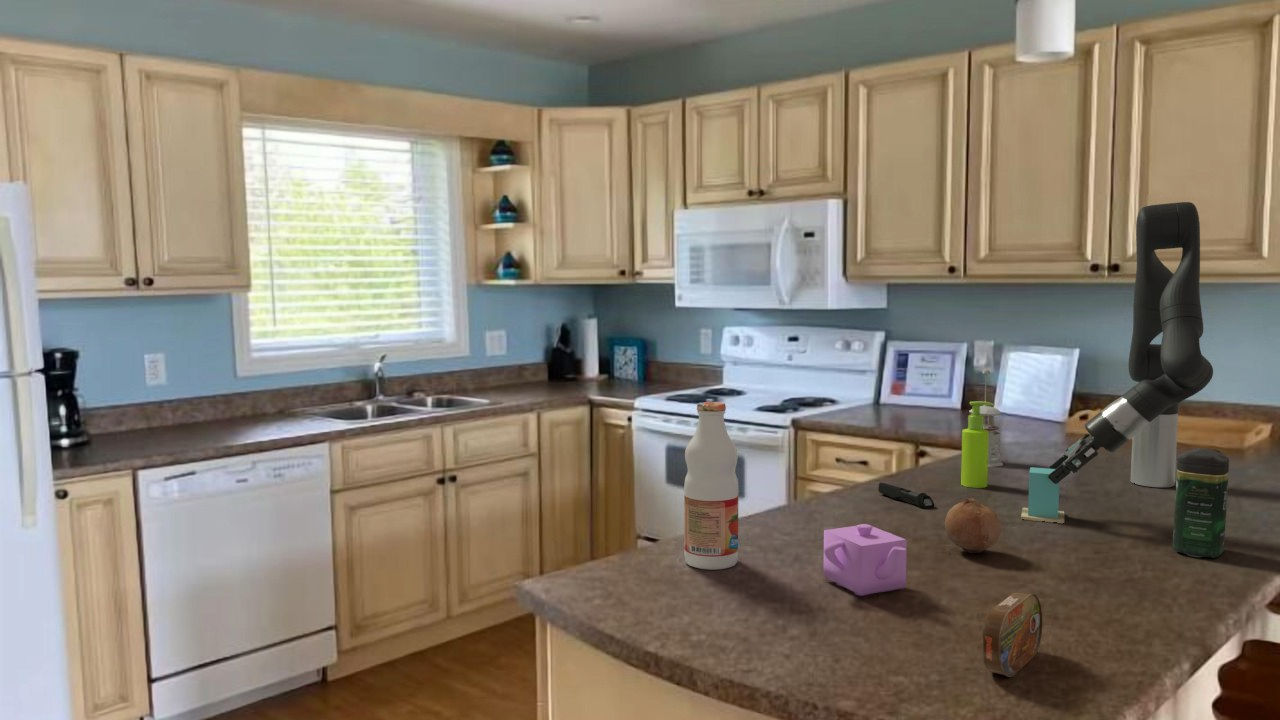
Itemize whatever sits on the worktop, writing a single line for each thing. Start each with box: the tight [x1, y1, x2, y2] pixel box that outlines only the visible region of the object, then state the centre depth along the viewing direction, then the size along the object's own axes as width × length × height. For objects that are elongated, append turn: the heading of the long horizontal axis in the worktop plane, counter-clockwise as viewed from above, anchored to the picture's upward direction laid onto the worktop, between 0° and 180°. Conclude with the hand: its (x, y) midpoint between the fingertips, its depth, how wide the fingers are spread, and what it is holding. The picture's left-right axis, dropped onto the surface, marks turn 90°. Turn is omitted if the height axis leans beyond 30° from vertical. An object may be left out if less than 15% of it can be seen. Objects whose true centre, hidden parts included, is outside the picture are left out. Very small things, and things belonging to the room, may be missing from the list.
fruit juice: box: [683, 401, 739, 571], centre depth 160 cm, size 9×9×28 cm
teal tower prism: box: [1027, 466, 1060, 519], centre depth 190 cm, size 6×6×9 cm
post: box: [1020, 507, 1065, 524], centre depth 190 cm, size 8×8×8 cm
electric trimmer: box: [877, 482, 935, 510], centre depth 205 cm, size 4×16×3 cm, turn 26°
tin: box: [981, 591, 1043, 678], centre depth 119 cm, size 15×3×8 cm, turn 138°
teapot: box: [822, 523, 908, 597], centre depth 147 cm, size 18×14×10 cm
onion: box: [944, 497, 1002, 554], centre depth 166 cm, size 10×9×10 cm
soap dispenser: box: [960, 400, 995, 489], centre depth 219 cm, size 6×7×20 cm
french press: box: [968, 368, 1004, 468], centre depth 245 cm, size 10×12×25 cm
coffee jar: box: [1172, 447, 1230, 558], centre depth 165 cm, size 10×8×19 cm
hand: (1051, 475), depth 190 cm, fingers open, 8 cm apart
